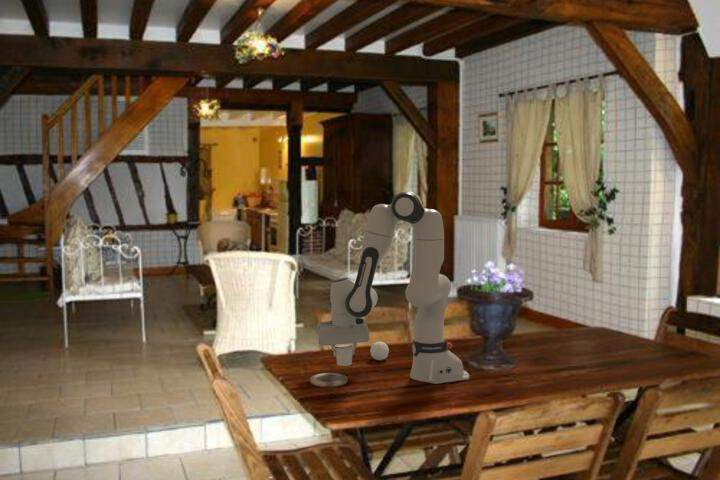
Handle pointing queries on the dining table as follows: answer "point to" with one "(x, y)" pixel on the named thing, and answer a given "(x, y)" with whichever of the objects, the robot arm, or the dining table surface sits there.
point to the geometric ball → (379, 350)
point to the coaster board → (328, 380)
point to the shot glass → (344, 355)
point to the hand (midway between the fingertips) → (344, 355)
